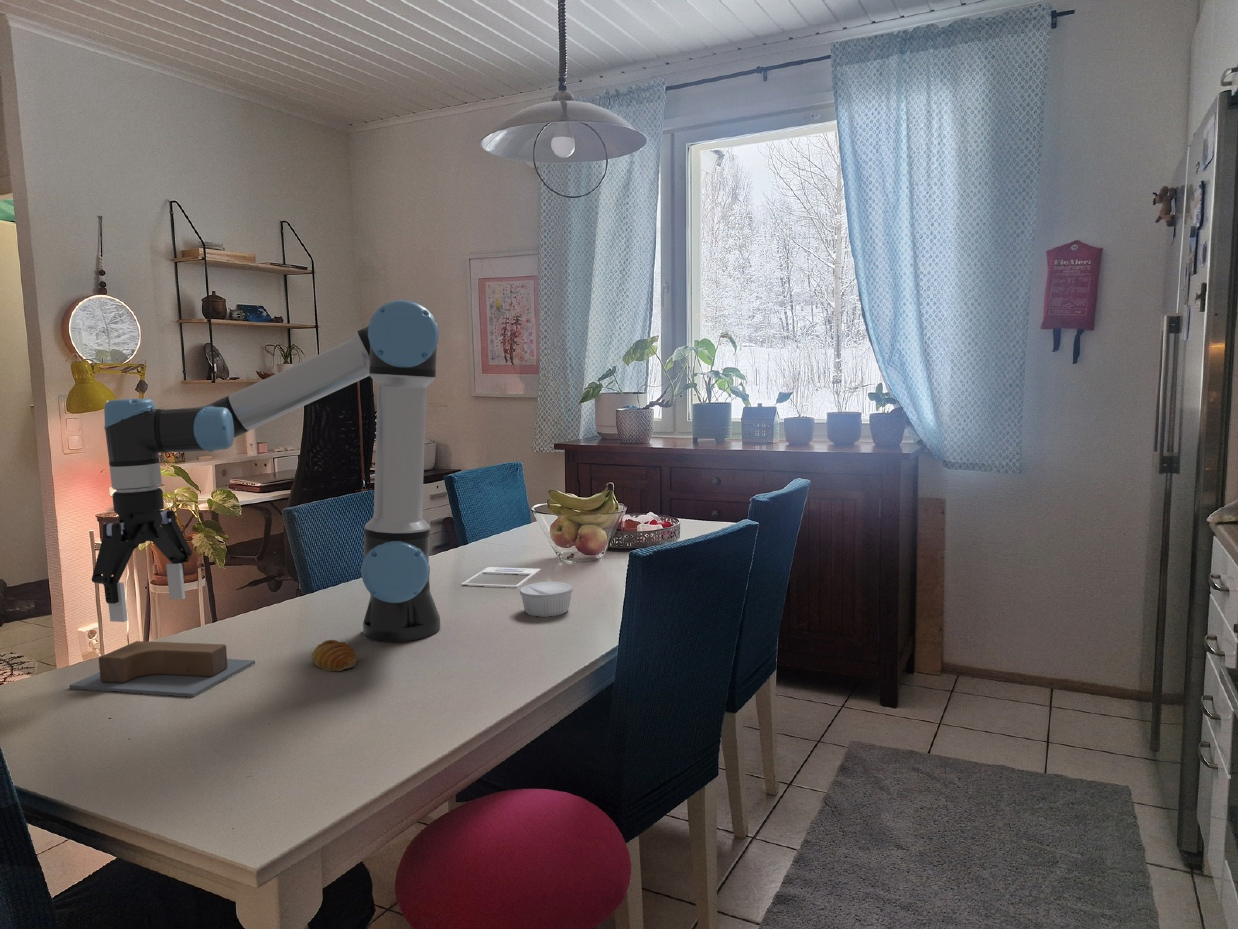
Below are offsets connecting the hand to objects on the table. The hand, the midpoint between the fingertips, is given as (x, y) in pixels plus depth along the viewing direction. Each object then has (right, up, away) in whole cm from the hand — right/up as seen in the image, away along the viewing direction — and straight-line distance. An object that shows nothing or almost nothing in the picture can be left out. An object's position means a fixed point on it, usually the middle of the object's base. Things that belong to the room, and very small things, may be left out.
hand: (149, 609), depth 147 cm
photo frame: (+52, -4, +66) cm, 84 cm away
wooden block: (-6, -9, 0) cm, 11 cm away
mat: (+2, -12, +1) cm, 12 cm away
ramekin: (+66, -7, +36) cm, 76 cm away
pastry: (+31, -11, +5) cm, 33 cm away
